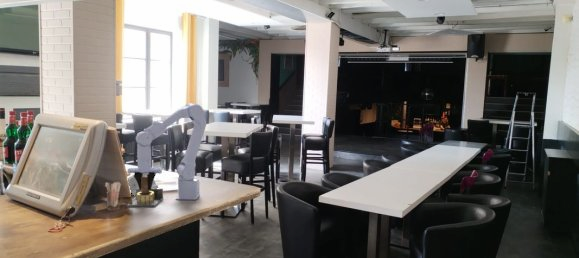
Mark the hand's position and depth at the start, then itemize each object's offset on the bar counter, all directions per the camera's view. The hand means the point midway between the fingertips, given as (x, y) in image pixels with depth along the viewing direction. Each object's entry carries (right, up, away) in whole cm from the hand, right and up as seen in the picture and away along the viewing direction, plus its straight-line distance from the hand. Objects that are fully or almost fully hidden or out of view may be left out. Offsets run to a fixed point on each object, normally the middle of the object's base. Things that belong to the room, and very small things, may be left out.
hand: (145, 188), depth 189 cm
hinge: (-9, -4, +19) cm, 22 cm away
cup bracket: (0, -6, +1) cm, 6 cm away
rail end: (0, -4, 0) cm, 4 cm away
